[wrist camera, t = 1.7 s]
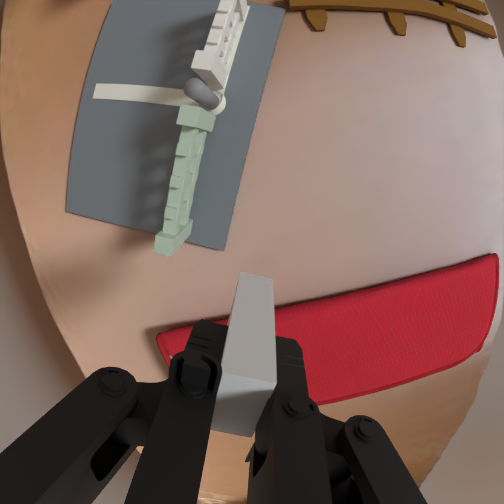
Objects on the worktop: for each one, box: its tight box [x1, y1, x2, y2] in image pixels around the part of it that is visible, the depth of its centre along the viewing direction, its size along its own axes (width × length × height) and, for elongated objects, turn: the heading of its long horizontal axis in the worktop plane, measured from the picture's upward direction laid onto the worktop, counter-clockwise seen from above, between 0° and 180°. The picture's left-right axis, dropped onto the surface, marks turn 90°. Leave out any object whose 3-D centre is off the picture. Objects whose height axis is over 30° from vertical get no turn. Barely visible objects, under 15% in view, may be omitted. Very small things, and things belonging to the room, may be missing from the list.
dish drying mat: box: [156, 253, 499, 406], centre depth 30 cm, size 16×41×4 cm, turn 103°
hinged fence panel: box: [154, 78, 220, 257], centre depth 21 cm, size 13×1×6 cm, turn 166°
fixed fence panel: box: [191, 0, 248, 88], centre depth 18 cm, size 8×1×6 cm, turn 166°
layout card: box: [66, 0, 286, 251], centre depth 23 cm, size 24×18×1 cm
